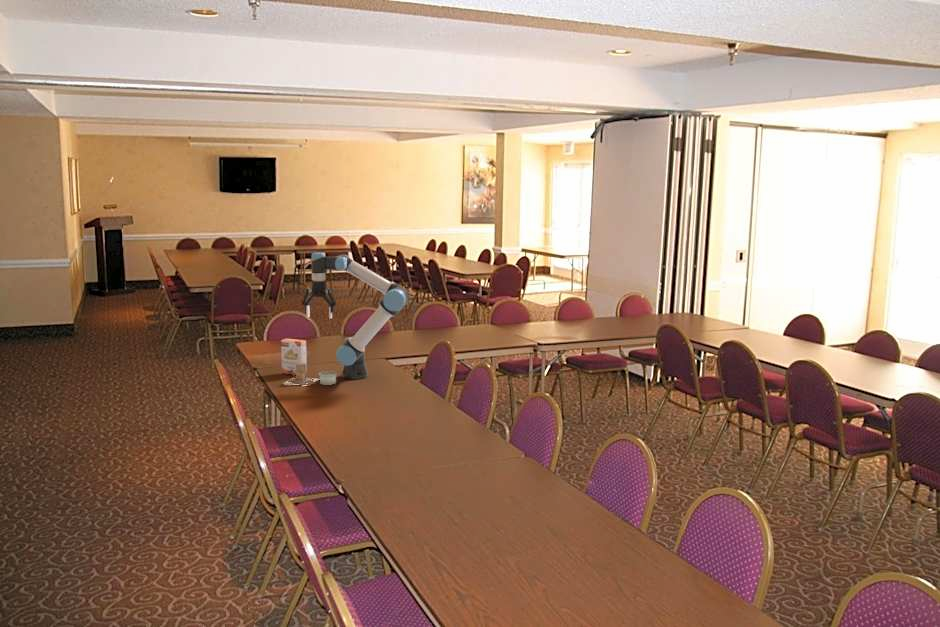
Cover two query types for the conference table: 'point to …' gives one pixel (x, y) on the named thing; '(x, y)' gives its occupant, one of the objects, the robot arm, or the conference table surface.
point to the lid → (301, 374)
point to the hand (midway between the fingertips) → (319, 317)
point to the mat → (298, 384)
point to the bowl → (327, 377)
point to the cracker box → (292, 354)
